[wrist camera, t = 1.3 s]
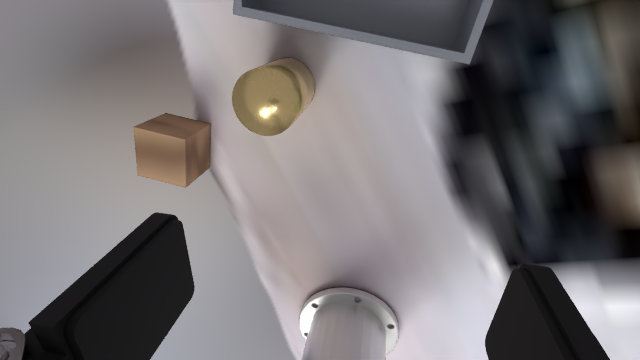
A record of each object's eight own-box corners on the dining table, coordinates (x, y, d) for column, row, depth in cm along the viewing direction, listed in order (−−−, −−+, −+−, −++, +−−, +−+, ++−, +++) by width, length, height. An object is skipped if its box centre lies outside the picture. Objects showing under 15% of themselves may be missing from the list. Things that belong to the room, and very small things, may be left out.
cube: (210, 167, 36) (185, 187, 32) (167, 156, 37) (137, 175, 32) (211, 123, 34) (185, 139, 30) (166, 113, 34) (133, 126, 30)
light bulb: (310, 118, 32) (291, 142, 26) (260, 106, 32) (230, 127, 26) (319, 64, 29) (301, 76, 23) (265, 52, 30) (234, 61, 24)
